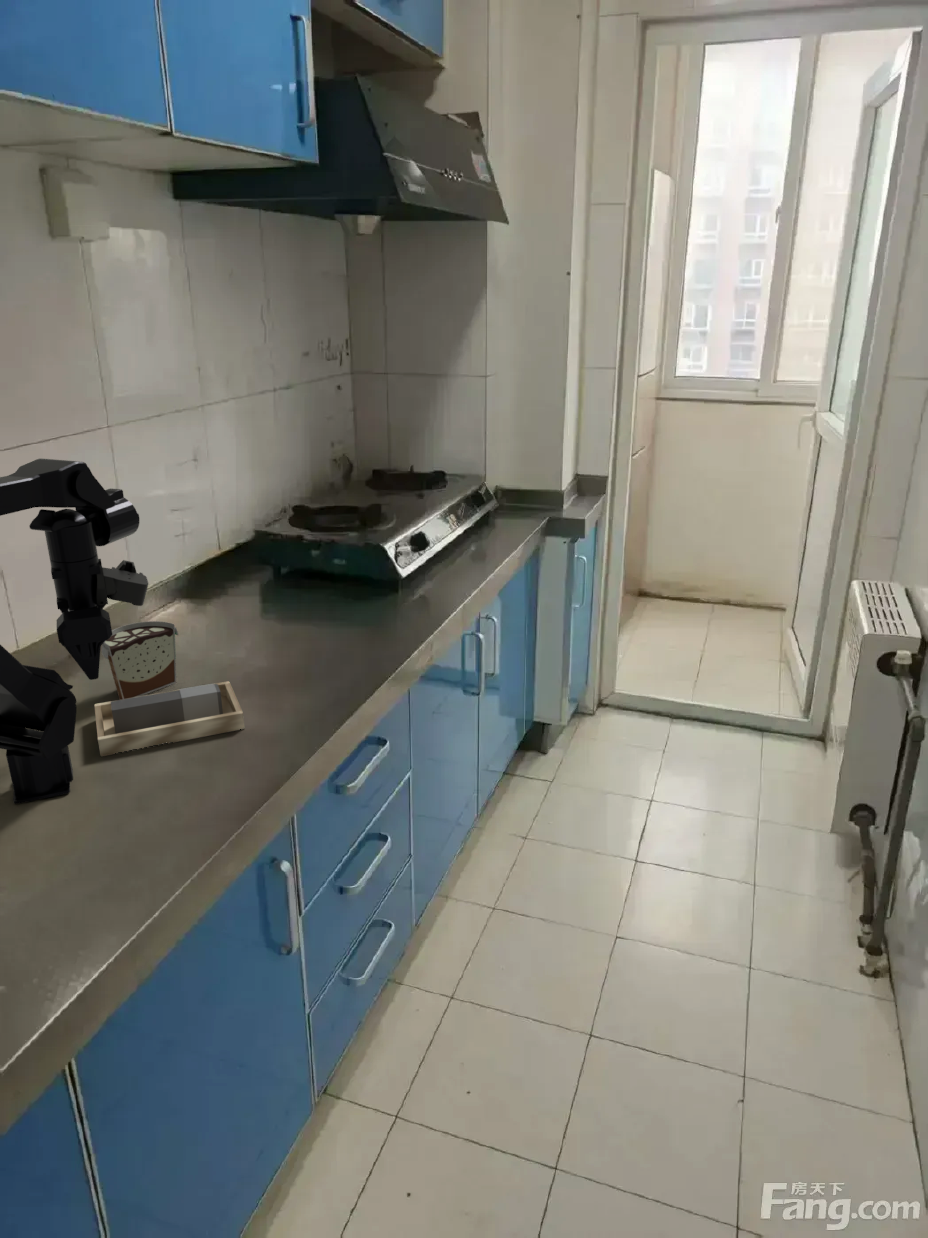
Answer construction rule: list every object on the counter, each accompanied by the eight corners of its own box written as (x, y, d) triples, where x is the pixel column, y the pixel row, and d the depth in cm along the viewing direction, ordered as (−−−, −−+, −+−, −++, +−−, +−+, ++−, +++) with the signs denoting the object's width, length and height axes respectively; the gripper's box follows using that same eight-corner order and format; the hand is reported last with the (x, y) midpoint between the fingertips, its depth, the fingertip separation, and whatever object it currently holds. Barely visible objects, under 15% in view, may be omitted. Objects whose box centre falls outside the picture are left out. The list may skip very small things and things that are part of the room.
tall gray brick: (219, 707, 130) (217, 682, 128) (223, 716, 127) (220, 691, 126) (114, 725, 124) (110, 700, 123) (115, 735, 122) (111, 710, 120)
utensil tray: (100, 756, 117) (97, 739, 116) (97, 719, 127) (94, 704, 126) (244, 728, 125) (243, 713, 124) (230, 696, 135) (229, 681, 134)
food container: (163, 669, 144) (155, 614, 140) (184, 679, 140) (177, 623, 137) (94, 694, 135) (84, 636, 131) (114, 706, 131) (105, 646, 128)
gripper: (145, 569, 106) (161, 682, 112) (133, 531, 122) (148, 632, 128) (47, 580, 102) (69, 698, 107) (48, 540, 118) (67, 644, 123)
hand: (92, 665), depth 117 cm, fingers open, 9 cm apart
